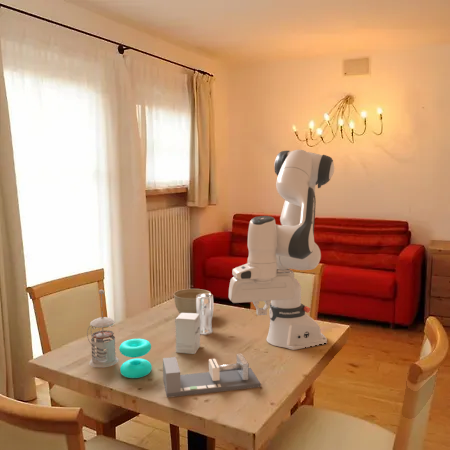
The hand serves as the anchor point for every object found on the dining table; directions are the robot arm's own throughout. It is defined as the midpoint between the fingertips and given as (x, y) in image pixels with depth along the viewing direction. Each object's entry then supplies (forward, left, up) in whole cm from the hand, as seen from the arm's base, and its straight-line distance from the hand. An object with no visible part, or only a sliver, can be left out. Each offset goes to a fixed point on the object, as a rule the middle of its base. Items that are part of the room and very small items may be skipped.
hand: (261, 314), depth 144 cm
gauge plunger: (+9, 0, -19) cm, 21 cm away
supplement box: (+19, -28, -21) cm, 40 cm away
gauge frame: (+16, 0, -21) cm, 26 cm away
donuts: (+38, -13, -21) cm, 45 cm away
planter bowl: (+12, -63, -21) cm, 67 cm away
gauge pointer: (+15, 0, -18) cm, 24 cm away
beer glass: (+10, -44, -21) cm, 50 cm away
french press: (+49, -25, -21) cm, 59 cm away
